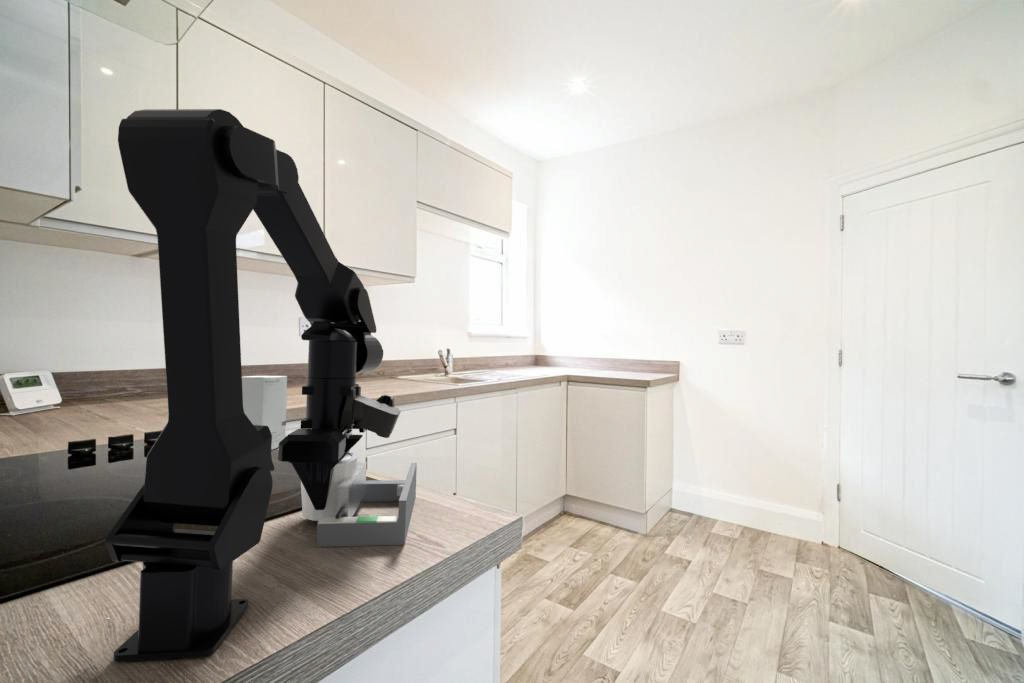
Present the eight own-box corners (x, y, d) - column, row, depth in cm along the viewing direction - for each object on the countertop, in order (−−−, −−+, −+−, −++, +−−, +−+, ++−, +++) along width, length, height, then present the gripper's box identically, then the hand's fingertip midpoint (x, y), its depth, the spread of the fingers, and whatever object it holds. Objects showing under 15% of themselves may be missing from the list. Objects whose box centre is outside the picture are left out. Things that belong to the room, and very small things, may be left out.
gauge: (404, 544, 51) (406, 500, 51) (316, 546, 50) (318, 501, 50) (415, 497, 66) (416, 463, 66) (348, 497, 65) (349, 463, 65)
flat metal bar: (342, 534, 50) (343, 494, 50) (331, 534, 50) (332, 494, 50) (365, 493, 63) (366, 461, 63) (356, 493, 63) (357, 461, 63)
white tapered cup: (335, 525, 53) (338, 466, 53) (284, 519, 55) (286, 461, 55) (365, 505, 60) (367, 453, 60) (318, 500, 61) (321, 448, 61)
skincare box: (260, 455, 87) (263, 377, 87) (231, 453, 87) (234, 376, 87) (286, 445, 95) (289, 374, 95) (259, 443, 96) (262, 373, 96)
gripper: (387, 385, 49) (382, 529, 49) (404, 373, 68) (400, 477, 68) (279, 383, 48) (273, 531, 48) (326, 371, 66) (322, 478, 66)
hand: (327, 500), depth 57 cm, fingers closed on white tapered cup, 6 cm apart
